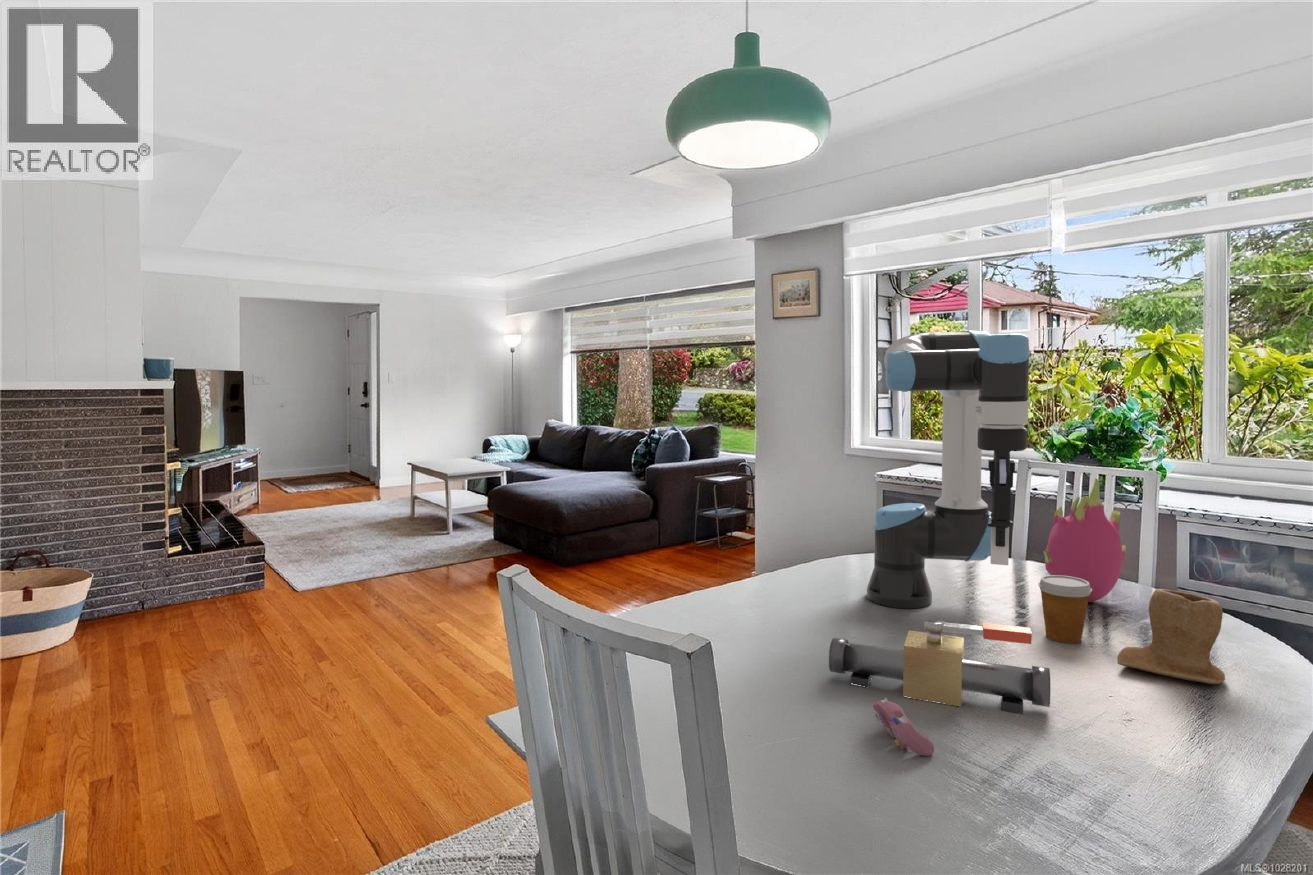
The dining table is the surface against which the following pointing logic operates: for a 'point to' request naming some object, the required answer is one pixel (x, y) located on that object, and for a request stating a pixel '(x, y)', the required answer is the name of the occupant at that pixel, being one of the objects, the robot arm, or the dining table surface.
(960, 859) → the dining table surface
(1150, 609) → the tan flared piece
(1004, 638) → the lever
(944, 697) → the valve pipe
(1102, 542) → the pink dragon fruit
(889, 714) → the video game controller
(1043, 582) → the disposable coffee cup
